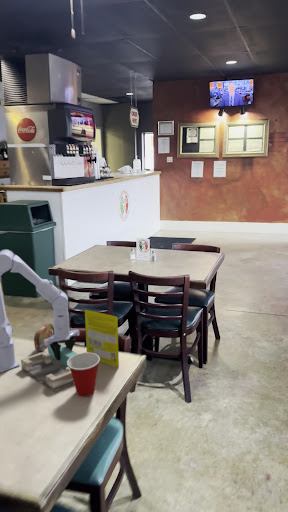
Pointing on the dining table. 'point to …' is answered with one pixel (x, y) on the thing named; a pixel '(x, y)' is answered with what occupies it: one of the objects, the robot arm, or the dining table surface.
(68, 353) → the slat
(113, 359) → the food package
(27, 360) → the cradle
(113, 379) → the dining table surface
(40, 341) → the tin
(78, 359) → the plastic cup
